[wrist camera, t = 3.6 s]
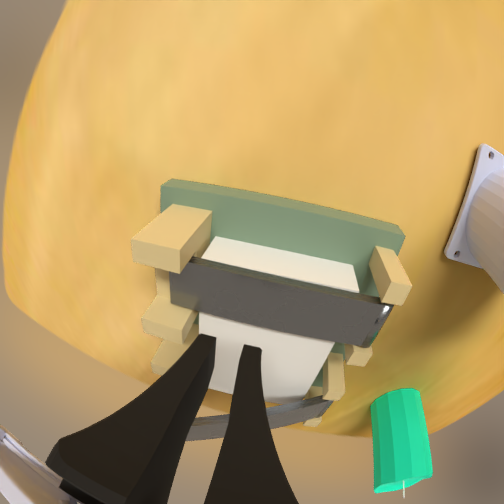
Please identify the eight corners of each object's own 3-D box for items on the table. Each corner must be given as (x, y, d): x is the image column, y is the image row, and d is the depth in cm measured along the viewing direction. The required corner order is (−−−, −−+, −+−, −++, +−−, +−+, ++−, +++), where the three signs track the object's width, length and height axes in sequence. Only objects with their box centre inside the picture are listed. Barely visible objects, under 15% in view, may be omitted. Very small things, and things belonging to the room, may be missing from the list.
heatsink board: (397, 225, 15) (435, 282, 9) (319, 386, 23) (316, 441, 18) (172, 178, 16) (114, 215, 11) (177, 355, 24) (154, 405, 19)
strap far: (333, 390, 17) (337, 399, 16) (319, 408, 19) (323, 416, 18) (169, 417, 14) (170, 428, 13) (173, 433, 15) (175, 442, 15)
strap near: (392, 298, 12) (395, 308, 12) (369, 338, 14) (371, 348, 13) (174, 250, 14) (167, 258, 13) (175, 295, 15) (170, 304, 14)
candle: (380, 418, 25) (383, 504, 15) (361, 402, 24) (363, 504, 14) (424, 400, 23) (438, 489, 13) (412, 381, 21) (429, 487, 11)
